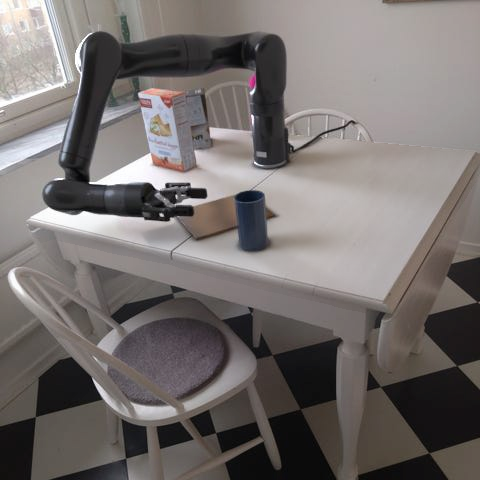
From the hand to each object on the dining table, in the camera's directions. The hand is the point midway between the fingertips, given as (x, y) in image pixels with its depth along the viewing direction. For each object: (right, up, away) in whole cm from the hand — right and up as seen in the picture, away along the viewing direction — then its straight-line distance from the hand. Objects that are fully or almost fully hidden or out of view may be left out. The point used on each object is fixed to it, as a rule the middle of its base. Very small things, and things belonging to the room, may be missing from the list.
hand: (200, 201), depth 104 cm
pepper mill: (+16, +37, +61) cm, 73 cm away
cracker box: (-12, +22, +46) cm, 52 cm away
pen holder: (+11, -8, +3) cm, 14 cm away
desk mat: (+4, +1, +16) cm, 16 cm away
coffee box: (-4, +33, +59) cm, 68 cm away
